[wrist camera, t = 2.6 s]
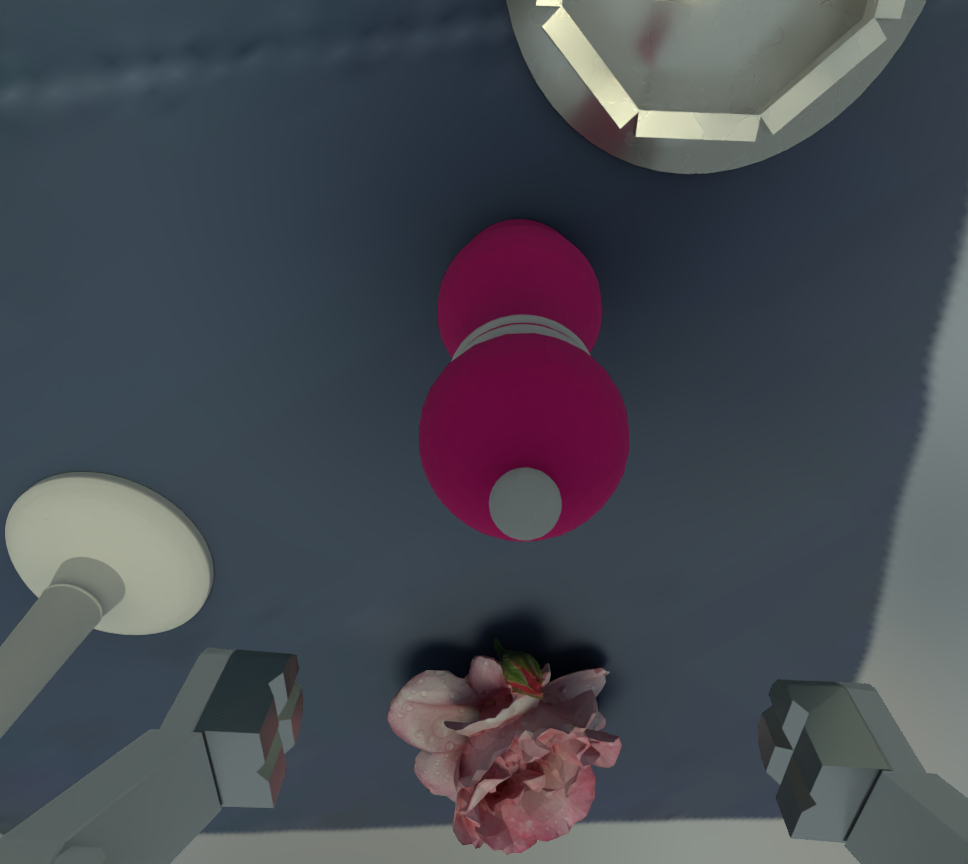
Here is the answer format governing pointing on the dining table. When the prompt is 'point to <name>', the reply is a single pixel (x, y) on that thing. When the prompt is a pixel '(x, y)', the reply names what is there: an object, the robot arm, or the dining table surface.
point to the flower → (507, 746)
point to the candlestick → (95, 573)
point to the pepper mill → (522, 389)
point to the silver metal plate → (705, 71)
